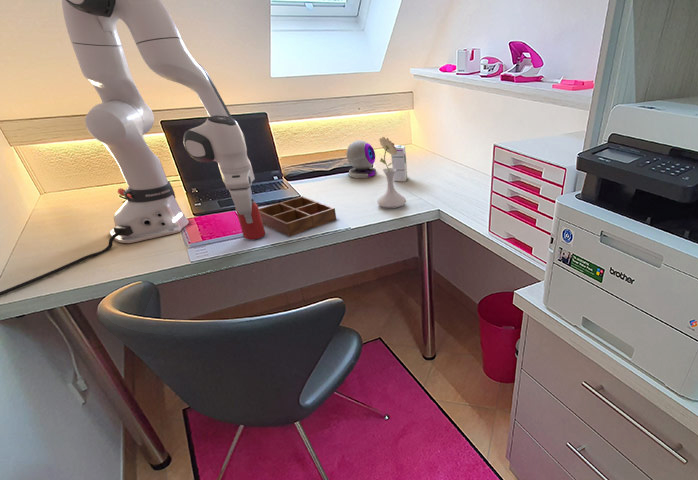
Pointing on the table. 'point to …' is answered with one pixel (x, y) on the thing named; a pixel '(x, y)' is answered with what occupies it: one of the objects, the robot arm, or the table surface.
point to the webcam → (361, 159)
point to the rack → (296, 215)
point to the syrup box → (399, 164)
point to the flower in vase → (390, 180)
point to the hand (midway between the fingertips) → (250, 218)
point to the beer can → (252, 224)
